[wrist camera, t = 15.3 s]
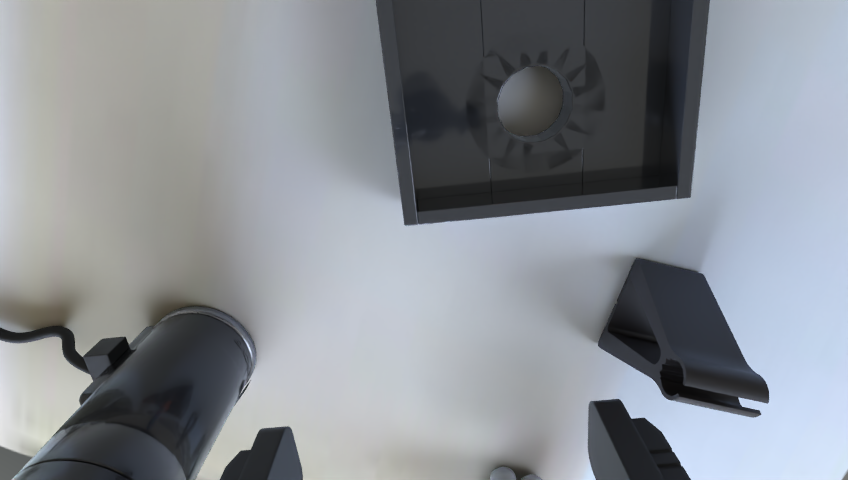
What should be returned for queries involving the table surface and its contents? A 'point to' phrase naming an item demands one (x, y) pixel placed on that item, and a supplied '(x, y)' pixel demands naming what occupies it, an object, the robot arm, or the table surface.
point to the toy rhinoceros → (509, 475)
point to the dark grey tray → (669, 184)
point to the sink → (513, 51)
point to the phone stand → (680, 339)
